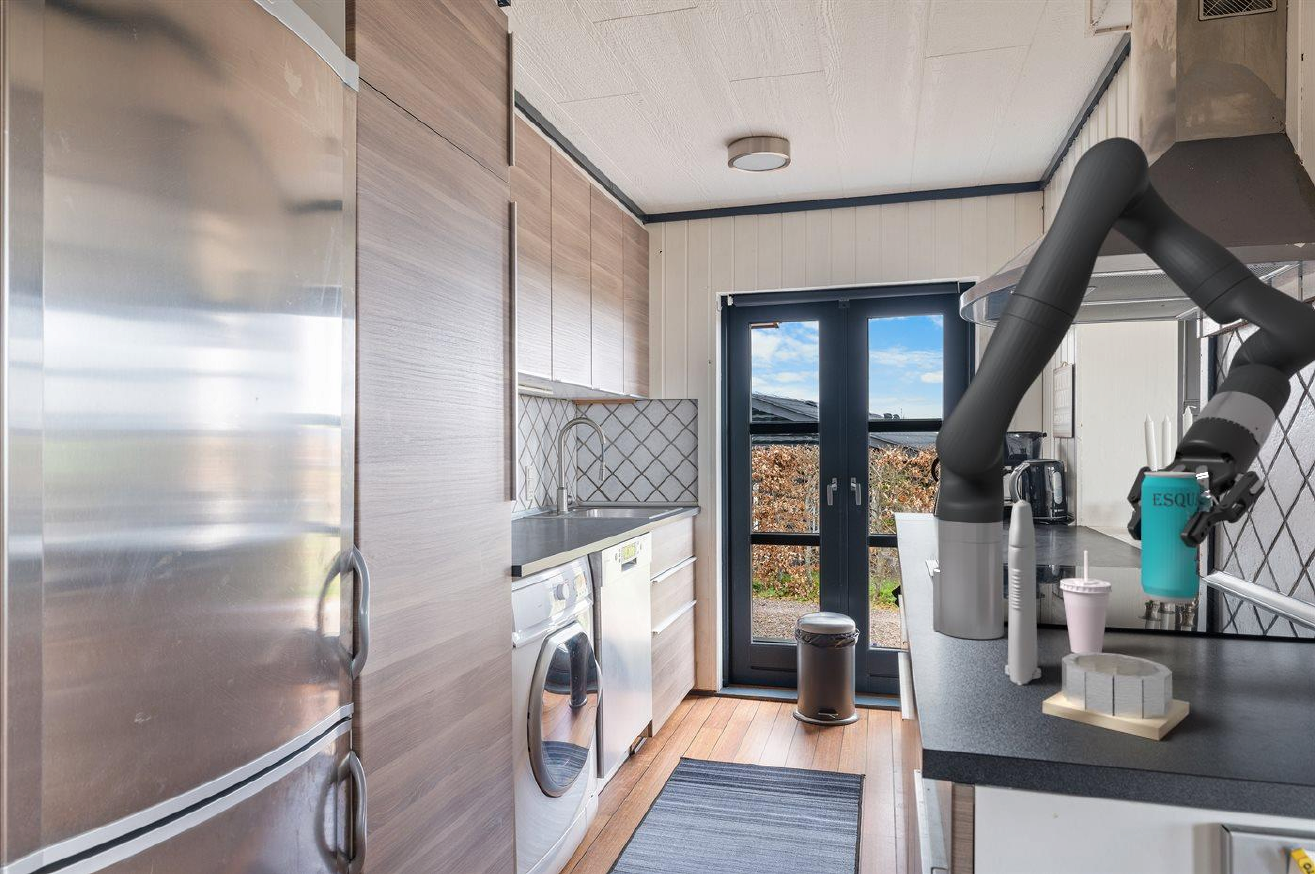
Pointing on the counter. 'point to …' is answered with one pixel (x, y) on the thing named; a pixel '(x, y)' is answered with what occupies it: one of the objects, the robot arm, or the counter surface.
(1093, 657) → the collar
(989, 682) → the counter surface
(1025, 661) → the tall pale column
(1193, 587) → the beverage can
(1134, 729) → the base board
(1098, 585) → the smoothie
